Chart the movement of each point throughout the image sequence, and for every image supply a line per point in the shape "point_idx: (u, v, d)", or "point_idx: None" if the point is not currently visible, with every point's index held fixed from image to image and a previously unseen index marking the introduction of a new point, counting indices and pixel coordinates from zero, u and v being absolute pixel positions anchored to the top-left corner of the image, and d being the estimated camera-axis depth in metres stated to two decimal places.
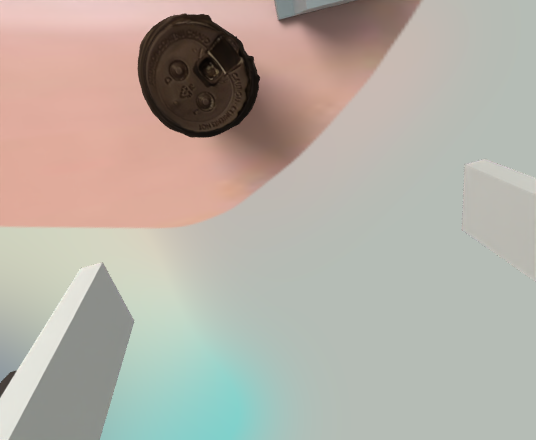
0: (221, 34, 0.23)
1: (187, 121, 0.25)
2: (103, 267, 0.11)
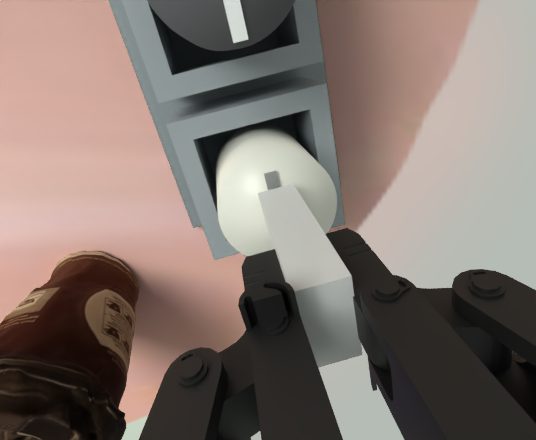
0: (34, 414, 0.14)
1: None
2: None
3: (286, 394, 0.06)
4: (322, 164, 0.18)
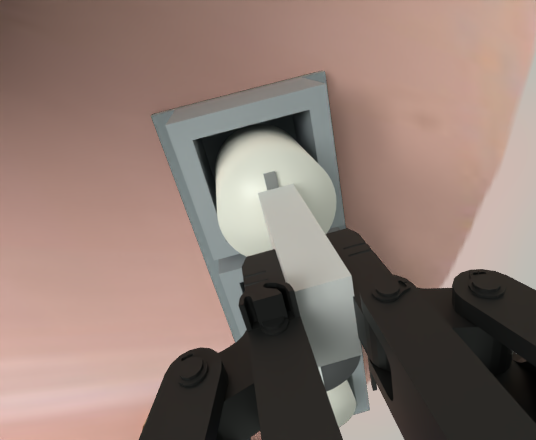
0: None
1: None
2: None
3: (286, 394, 0.06)
4: (355, 381, 0.27)
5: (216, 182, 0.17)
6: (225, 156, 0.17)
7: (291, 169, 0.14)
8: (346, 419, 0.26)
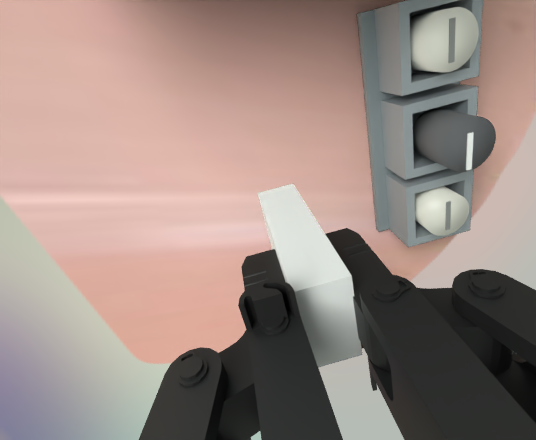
0: None
1: None
2: None
3: (286, 394, 0.06)
4: None
5: None
6: (414, 23, 0.33)
7: (461, 17, 0.30)
8: (460, 224, 0.40)
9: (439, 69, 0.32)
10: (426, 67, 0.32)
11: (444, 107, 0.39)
